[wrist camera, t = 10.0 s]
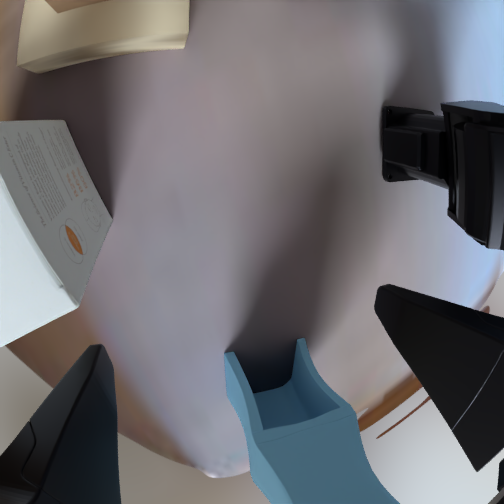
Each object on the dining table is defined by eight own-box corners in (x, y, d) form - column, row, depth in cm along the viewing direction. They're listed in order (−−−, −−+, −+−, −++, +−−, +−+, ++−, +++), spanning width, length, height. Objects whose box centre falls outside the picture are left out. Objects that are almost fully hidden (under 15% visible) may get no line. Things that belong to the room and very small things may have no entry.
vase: (227, 403, 29) (291, 572, 11) (223, 352, 26) (309, 568, 8) (295, 388, 31) (380, 536, 13) (304, 337, 28) (422, 511, 10)
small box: (6, 161, 14) (-91, 201, 5) (66, 117, 15) (-21, 117, 6) (54, 256, 18) (-2, 353, 9) (115, 221, 19) (80, 310, 9)
